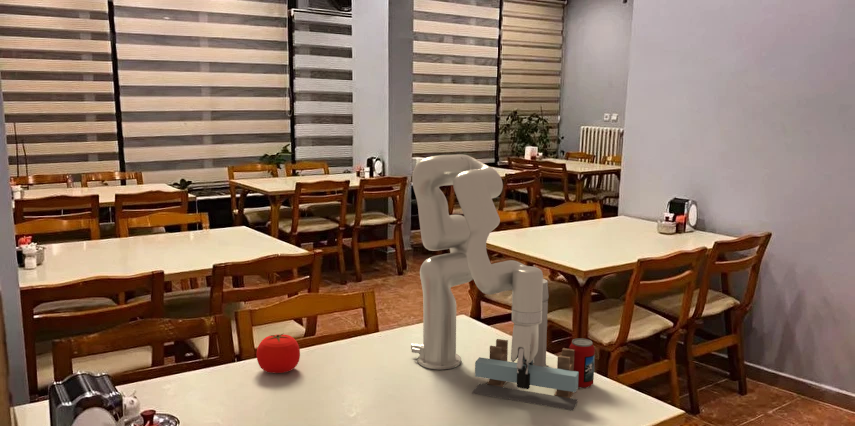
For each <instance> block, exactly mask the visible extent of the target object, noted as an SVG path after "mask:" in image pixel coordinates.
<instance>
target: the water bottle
mask: <svg viewBox="0 0 855 426" xmlns="http://www.w3.org/2000/svg"><path fill="white" fill-rule="evenodd" d="M548 285H549V284H548V280H547V279H545V278H543V295H542V323H541V324H539V326H538V332H539V338H538V352H537V354H536V356H535V357H534V365H536V366H543V367H546V365H547V363H546V362H547V338H548V335H547V333H548V331H547V330H548V307H549V303H548V302H549V286H548Z"/></svg>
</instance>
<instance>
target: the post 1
mask: <svg viewBox="0 0 855 426" xmlns="http://www.w3.org/2000/svg"><path fill="white" fill-rule="evenodd" d="M495 340H496V341H495V345H490V346H489V359H495V360H501V361H508V355H509V354H508V353H509V352H508V351H509V350H508V349H509V347H508V345H509V344H508V343H509V340H508V339H502V338H501V339H499V338H497V339H495ZM506 383H507V381H501V380H494V379H488V381H487V383H486V384H488V385H494V386H500V387H504V386H505V384H506Z"/></svg>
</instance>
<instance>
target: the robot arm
mask: <svg viewBox="0 0 855 426" xmlns="http://www.w3.org/2000/svg"><path fill="white" fill-rule="evenodd" d="M411 176H412V178H411V180H412V181H411V182H412V183H411V184H412V189H413V192H414V195H415V199H416V202H417V203H416V204H417V209H418V210H417V211H418V220H419V228H420V229H419V230H420V236H421V242H422V246H423V247H424V248H425V249H426V250H428V251H432V252H434V251H435V252H436V251H444V250H448V249H449V252H450V253H443V254H438V255H433V256H431V257H429V258H426V259H425V260H424V261H423V262H422V264H421V265H420V269H419V276H420V277H419V278H420V283H421V289H422V302H423V303H422V308H423V311H422V312H423V315H422V316H423V317H422V318H423V320H422V321H423V322H422V323H423V326H422V327H423V328H422V329H423V331H422V332H423V333H422V337H423V339H422V342H423V343H422V344H418V343H411V345H410V350H411V353H413V354H414V353H415V354H419V355H418V357H417V363H418V364H419V365H420V366H421V367H423V368H426V369H430V370H439V371H440V370H441V371H442V370H450V369H454V368H457V367H458V366H460V365H461V363H462V358H461V357H462V356H461V355H460V354H458V353H457V299H456V298H455V295H454V294H453V292H452V289H451V288H452V287H455V286H461V285H464V284H468V283H469V282H471V281H474V283H475V286H476V288H477V289H478V290H479V291H480V292H481V293H483V294H485V295H494V294H495V295H496V294H500V293H504V292H507V291H512V292H511V322H512V323H513V329H512V335H511V336H512V337H511V347H510V348H511V350H510V362H516V360H517V362H516V363H517V383H516V389H521V390H529V389H530V386H531V385H530V374H529V365H534V357H535V356H536V354H537V352H538V338H539V332H538V326H539V324H541V323H542V295H543V279H544V273H543V271H542V269H541V268H539V267H536V266H530V265H525V264H523V263H522V262H520V261H517V260H514V259H513V260H512V259H510V260H509V259H508V260H504V261H499V262H495V263H491V261H490V258H489V255H488V252H487V241H488V238H489V236H490V234H492V232H493V230H495V229H496V228H497V227H498V226H499V225H500V222H501V219H500V215H499V213H498V211H497V209H496V206H495V203H494V201H493V199H496V198H497V197H499V196H500V195H501V193H502V192H503V187H504V184H503V180H502V177H501V175H500V174H499V172H498V171H496V170H495V168H493V167H491V166H489V165H487V164H485V163H484V162H482V161H480V160H478V159H476V158H475V157H472V156H470V155H468V154H462V153H461V154H460V153H459V154H458V153H457V154H441V155H431V156H428V157H425V158H423V159H421V160H420V161H418V162H417V164H416V165H415V166H414V169H413V171H412V175H411ZM443 186H452V187H453V190H454V193H455V195H456V198H457V201H458V205H459V207H460V209H461V212H462V214H450V213H449V205H448V203H449V202H448V200H447V198H446V196H445V194H444V192H443V191H442V190H441V188H440V187H443ZM523 364H524V365H526V368H525V366H523Z"/></svg>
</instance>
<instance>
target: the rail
mask: <svg viewBox="0 0 855 426" xmlns="http://www.w3.org/2000/svg"><path fill="white" fill-rule="evenodd" d="M523 366H525V368H526V365H524V364H523ZM529 374H530V386H534V387H539V388H546V389H553V390H556V389H558V390H564V391H571V392H573V393H576V392H577V390H578V389H579V388H578V375H579V372H577V371H570V370H563V369H557V367H556V368H555V367H548V366H544V367H543V366H536V365H529ZM474 377H476V378H477V377H478V378H482V379H488V380H489V379H494V380H501V381H507V382H509V383H515V384H517V362H516V361H514V362H512V361H508V360H507V361H501V360H495V359H490V358H486V357H478V358H477V360H475V361H474ZM507 382H506V383H507Z"/></svg>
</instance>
